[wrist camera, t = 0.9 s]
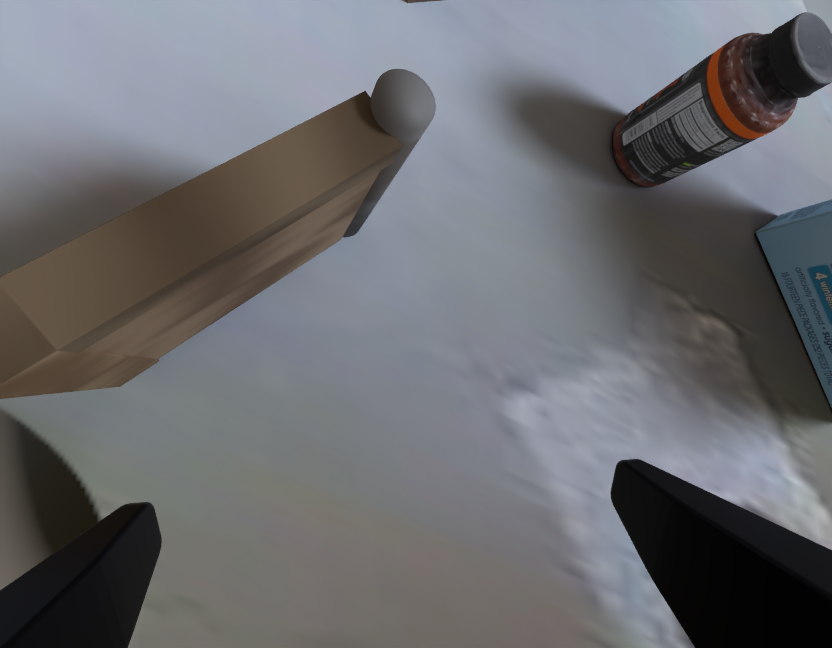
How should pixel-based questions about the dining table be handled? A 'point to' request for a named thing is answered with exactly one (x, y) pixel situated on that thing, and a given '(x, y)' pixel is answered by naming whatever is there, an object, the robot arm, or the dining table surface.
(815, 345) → the gum box
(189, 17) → the dining table surface
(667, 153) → the supplement bottle
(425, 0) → the tissue box cover
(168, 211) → the walnut gate
